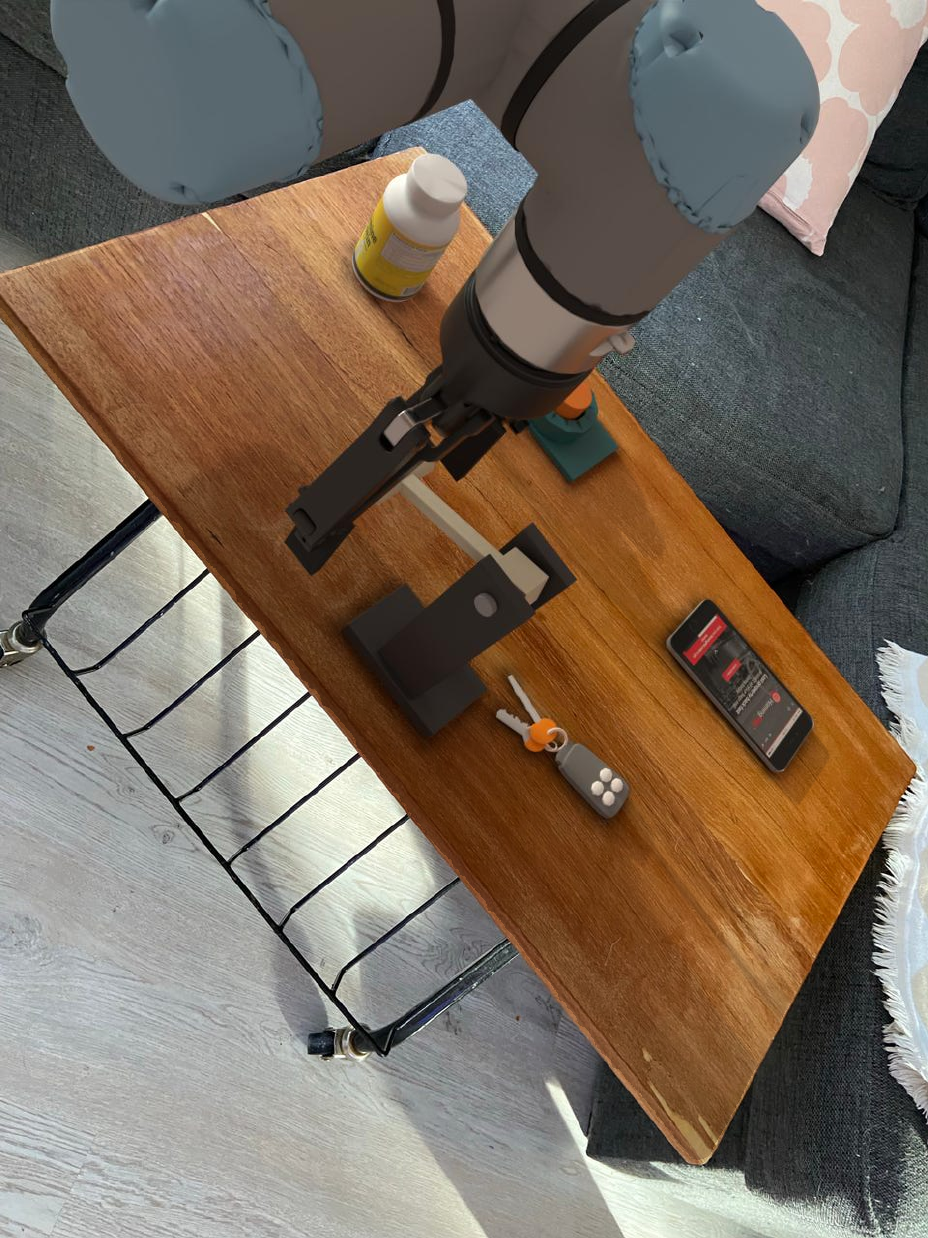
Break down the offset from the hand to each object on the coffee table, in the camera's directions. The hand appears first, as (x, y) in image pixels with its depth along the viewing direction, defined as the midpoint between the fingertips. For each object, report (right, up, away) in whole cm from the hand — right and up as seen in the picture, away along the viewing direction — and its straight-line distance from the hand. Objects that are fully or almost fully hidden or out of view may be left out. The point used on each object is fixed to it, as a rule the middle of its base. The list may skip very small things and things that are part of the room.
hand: (379, 508), depth 65 cm
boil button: (+14, +12, +21) cm, 28 cm away
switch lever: (+5, -3, -4) cm, 7 cm away
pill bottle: (-1, +22, +20) cm, 30 cm away
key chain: (+13, -17, +11) cm, 24 cm away
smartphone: (+30, -13, +21) cm, 39 cm away
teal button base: (+13, +11, +23) cm, 29 cm away
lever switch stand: (+2, -11, +8) cm, 13 cm away
